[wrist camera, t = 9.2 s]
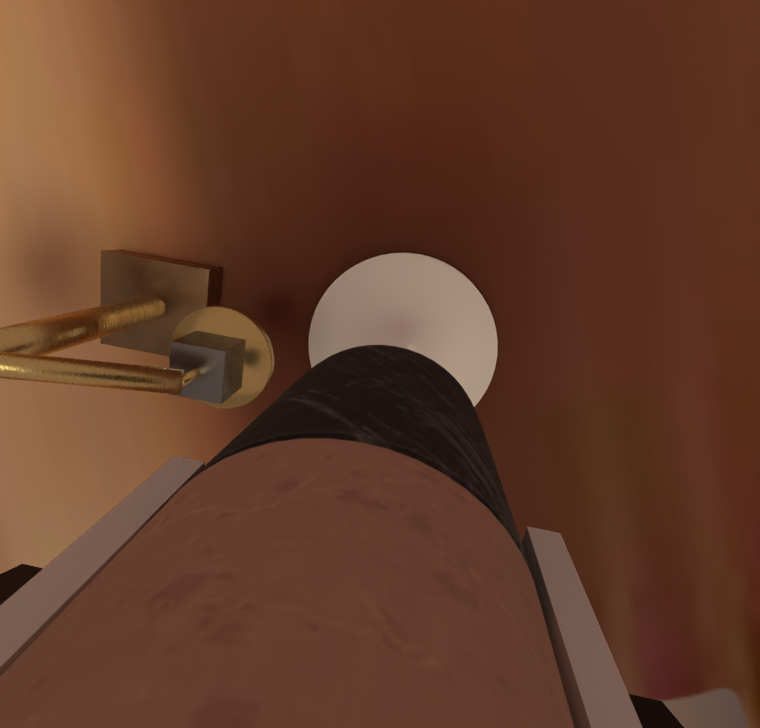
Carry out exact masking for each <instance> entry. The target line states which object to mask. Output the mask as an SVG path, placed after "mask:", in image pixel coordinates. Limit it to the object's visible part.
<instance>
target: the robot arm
mask: <svg viewBox="0 0 760 728" xmlns="http://www.w3.org/2000/svg"><path fill="white" fill-rule="evenodd" d="M204 466H205V462H203V461H198V460H193V459H188V458H183V457H178V456H173V457H172V458H171V459H170V460H169V461H168V462H166V463H165V464H164V465H163V466H162V467H161V468H159V469H158V470H157V471H156V472H155V473H154V474H153V475H151V476H150V477H149V478H148V479H147V480H146V481H144V482H143V483H142V484H141V485H140V486H139V487H137V488H136V489H135V490H134V491H133V492H132V493H130V494H129V495H128V496H127V497H126V498H125V499H123V500H122V501H121V502H120V503H119V504H118V505H117V506H115V507H114V508H113V509H112V510H111V511H110V512H108V513H107V514H106V515H105V516H104V517H103V518H101V519H100V520H99V521H98V522H97V523H96V524H94V525H93V526H92V527H91V528H90V529H89V530H87V531H86V532H85V533H84V534H83V535H82V536H80V537H79V538H78V539H77V540H76V541H75V542H74V543H72V544H71V545H70V546H69V547H68V548H67V549H65V550H64V551H63V552H62V553H61V554H60V555H58V556H57V557H56V558H55V559H54V560H53V561H51V562H50V563H49V564H48V565H47V566H46V567H44V568H38V567H34V566H29V565H24V564H21V565H19V566H17V567H15V568H13V569H11V570H9V571H6V572H4V573H2V574H0V676H1V675H2V674H3V673H4V672H5V671H6V670H7V669H8V668H9V667H10V666H11V665H12V664H13V663H14V662H15V661H16V660H17V659H18V657H19V656H20V655H21V654H22V653H23V652H24V651H25V650H26V649H27V648H28V647H29V646H30V645H31V644H32V643H33V642H34V641H35V640H36V639H37V638H38V637H39V636H40V635H41V634H42V633H43V631H44V630H45V629H46V628H47V627H48V626H49V625H50V624H51V623H52V622H53V621H54V620H55V619H56V618H57V617H58V616H59V615H60V614H61V613H62V612H63V611H64V610H65V609H66V608H67V607H68V605H69V604H70V603H71V602H72V601H73V600H74V599H75V598H76V597H77V596H78V595H79V594H80V593H81V592H82V591H83V590H84V589H85V588H86V587H87V586H88V585H89V584H90V583H91V582H92V581H93V579H94V578H95V577H96V576H97V575H98V574H99V573H100V572H101V571H102V570H103V569H104V568H105V567H106V566H107V565H108V564H109V563H110V562H111V561H112V560H113V559H114V558H115V557H116V556H117V555H118V553H119V552H120V551H121V550H122V549H123V548H124V547H125V546H126V545H127V544H128V543H129V542H130V541H131V540H132V539H133V538H134V537H135V536H136V535H137V534H138V533H139V532H140V531H141V530H142V529H143V527H144V526H145V525H146V524H147V523H148V522H149V521H150V520H151V519H152V518H153V517H154V516H155V515H156V514H157V513H158V512H159V511H160V510H161V509H162V508H163V507H164V506H165V505H166V504H167V503H168V501H169V500H170V499H171V498H172V497H173V496H174V495H175V494H176V493H177V492H178V491H179V490H180V489H181V488H182V487H184V486H185V485H186V484H187V483H188V482H189V481H190V480H191V478H193V477H194V476H195V475H196V474H197V473H198V472H199V471H200V470H201V469H202V468H203V467H204ZM522 547H523V549H524V552H525V555H526V558H527V561H528V564H529V568H530V571H531V575H532V577H533V580H534V584H535V587H536V591H537V594H538V598H539V601H540V605H541V608H542V612H543V615H544V619H545V623H546V626H547V630H548V634H549V637H550V641H551V645H552V648H553V652H554V655H555V659H556V663H557V666H558V670H559V674H560V677H561V681H562V684H563V688H564V692H565V695H566V699H567V703H568V706H569V710H570V714H571V717H572V721H573V724H574V728H684V727H683V726H682V725H681V724H680V723H679V721H678V720H677V719H676V718H675V717H674V716H673V714H672V713H671V712H670V711H669V709H668V708H667V707H666V706H665V705H664V704H663V702H662V701H658V700H653V699H649V698H644V697H640V696H635V695H631V694H628V692H627V690H626V687H625V685H624V683H623V680H622V678H621V676H620V673H619V671H618V668H617V666H616V664H615V661H614V659H613V657H612V654H611V652H610V650H609V647H608V645H607V642H606V640H605V638H604V635H603V633H602V631H601V628H600V626H599V624H598V621H597V619H596V617H595V614H594V612H593V609H592V607H591V605H590V602H589V600H588V598H587V595H586V593H585V591H584V588H583V586H582V583H581V581H580V579H579V576H578V574H577V572H576V569H575V567H574V565H573V562H572V560H571V558H570V555H569V553H568V550H567V548H566V546H565V543H564V541H563V539H562V536H561V534H560V533H557V532H552V531H547V530H542V529H537V528H532V527H527V528H526V532H525V535H524V539H523V542H522Z"/></svg>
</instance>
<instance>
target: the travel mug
mask: <svg viewBox="0 0 760 728" xmlns="http://www.w3.org/2000/svg"><path fill="white" fill-rule="evenodd" d="M0 728H574V724H573V721H572V717H571V714H570V710H569V706H568V703H567V699H566V695H565V692H564V688H563V684H562V681H561V677H560V674H559V670H558V666H557V663H556V659H555V655H554V652H553V648H552V645H551V641H550V637H549V634H548V630H547V626H546V623H545V619H544V615H543V612H542V608H541V605H540V601H539V598H538V594H537V591H536V587H535V584H534V580H533V577H532V575H531V571H530V568H529V564H528V561H527V558H526V555H525V552H524V549H523V547H522V544H521V541H520V538H519V535H518V532H517V529H516V526H515V523H514V520H513V517H512V514H511V511H510V508H509V505H508V502H507V499H506V496H505V493H504V491H503V488H502V485H501V482H500V479H499V476H498V473H497V470H496V467H495V464H494V461H493V458H492V455H491V452H490V449H489V446H488V443H487V440H486V437H485V435H484V432H483V429H482V426H481V423H480V421H479V418H478V415H477V413H476V411H475V408H474V406H473V404H472V402H471V400H470V398H469V397H468V395H467V393H466V392H465V390H464V389H463V387H462V386H461V385H460V384H459V382H458V381H457V380H456V379H455V378H454V377H453V376H452V375H451V374H450V373H449V372H448V371H447V370H446V369H445V368H443V367H442V366H440V365H439V364H438V363H436V362H435V361H433V360H432V359H430V358H428V357H426V356H424V355H422V354H420V353H417V352H414V351H412V350H409V349H405V348H401V347H396V346H389V345H365V346H359V347H353V348H350V349H346V350H343V351H340V352H338V353H336V354H334V355H331V356H329V357H328V358H326V359H324V360H323V361H321V362H320V363H318V364H317V365H315V366H314V367H313V368H312V369H310V370H309V371H308V372H307V373H306V374H304V375H303V376H302V377H301V378H300V379H299V380H298V381H296V382H295V383H294V384H293V385H292V386H291V387H290V388H289V389H288V390H287V391H285V392H284V393H283V394H282V395H281V396H280V397H279V398H278V399H277V400H276V401H275V402H274V403H273V404H271V405H270V406H269V407H268V408H267V409H266V410H265V411H264V412H263V413H262V414H261V415H260V416H258V417H257V418H256V419H255V420H254V421H253V422H252V423H251V424H250V425H249V426H248V427H247V428H245V429H244V430H243V431H242V432H241V433H240V434H239V435H238V436H237V437H236V438H235V439H234V440H233V441H231V442H230V443H229V444H228V445H227V446H226V447H225V448H224V449H223V450H222V451H221V452H220V453H218V454H217V455H216V456H215V457H214V458H213V459H212V460H211V461H210V462H209V463H208V464H207V465H206V466H204V467H203V468H202V469H201V470H200V471H199V472H198V473H197V474H196V475H195V476H194V477H193V478H191V480H190V481H189V482H188V483H187V484H186V485H185V486H184V487H182V488H181V489H180V490H179V491H178V492H177V493H176V494H175V495H174V496H173V497H172V498H171V499H170V500H169V501H168V503H167V504H166V505H165V506H164V507H163V508H162V509H161V510H160V511H159V512H158V513H157V514H156V515H155V516H154V517H153V518H152V519H151V520H150V521H149V522H148V523H147V524H146V525H145V526H144V527H143V529H142V530H141V531H140V532H139V533H138V534H137V535H136V536H135V537H134V538H133V539H132V540H131V541H130V542H129V543H128V544H127V545H126V546H125V547H124V548H123V549H122V550H121V551H120V552H119V553H118V555H117V556H116V557H115V558H114V559H113V560H112V561H111V562H110V563H109V564H108V565H107V566H106V567H105V568H104V569H103V570H102V571H101V572H100V573H99V574H98V575H97V576H96V577H95V578H94V579H93V581H92V582H91V583H90V584H89V585H88V586H87V587H86V588H85V589H84V590H83V591H82V592H81V593H80V594H79V595H78V596H77V597H76V598H75V599H74V600H73V601H72V602H71V603H70V604H69V605H68V607H67V608H66V609H65V610H64V611H63V612H62V613H61V614H60V615H59V616H58V617H57V618H56V619H55V620H54V621H53V622H52V623H51V624H50V625H49V626H48V627H47V628H46V629H45V630H44V631H43V633H42V634H41V635H40V636H39V637H38V638H37V639H36V640H35V641H34V642H33V643H32V644H31V645H30V646H29V647H28V648H27V649H26V650H25V651H24V652H23V653H22V654H21V655H20V656H19V657H18V659H17V660H16V661H15V662H14V663H13V664H12V665H11V666H10V667H9V668H8V669H7V670H6V671H5V672H4V673H3V674H2V675H1V676H0Z"/></svg>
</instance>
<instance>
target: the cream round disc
mask: <svg viewBox="0 0 760 728" xmlns="http://www.w3.org/2000/svg"><path fill="white" fill-rule="evenodd" d="M365 345H389V346H396V347H401V348H405V349H409V350H412V351H414V352H417V353H420V354H422V355H424V356H426V357H428V358H430V359H432V360H433V361H435V362H436V363H438V364H439V365H440V366H442V367H443V368H445V369H446V370H447V371H448V372H449V373H450V374H451V375H452V376H453V377H454V378H455V379H456V380H457V381H458V382H459V384H460V385H461V386H462V387H463V389H464V390H465V392H466V393H467V395H468V397H469V398H470V400H471V402H472V404H473V406H474V407H475V405H476V404H477V403H478V402H479V401H480V399H481V398H482V396H483V395H484V393H485V392H486V390H487V388H488V386H489V384H490V381H491V379H492V376H493V373H494V370H495V366H496V360H497V348H498V341H497V332H496V327H495V323H494V319H493V317H492V314H491V312H490V309H489V307H488V305H487V303H486V301H485V300H484V298H483V296H482V295H481V293H480V292H479V291H478V290H477V288H476V287H475V286H474V284H473V283H472V282H471V281H470V280H469V279H468V278H467V277H466V276H465V275H463V274H462V273H461V272H459V271H458V270H457V269H455V268H454V267H452V266H451V265H449V264H447V263H445V262H443V261H441V260H439V259H436V258H433V257H431V256H426V255H422V254H417V253H408V252H403V253H390V254H384V255H379V256H376V257H373V258H370V259H367V260H365V261H363V262H361V263H359V264H357V265H355V266H353V267H352V268H350V269H349V270H347V271H345V272H344V273H343V274H342V275H341V276H340V277H338V278H337V279H336V280H335V281H334V282H333V283H332V284H331V286H330V287H329V288H328V289H327V290H326V292H325V293H324V295H323V296H322V298H321V299H320V301H319V303H318V305H317V307H316V309H315V312H314V315H313V318H312V321H311V326H310V331H309V344H308V346H309V358H310V363H311V368H313V367H314V366H315V365H317V364H318V363H320V362H321V361H323V360H324V359H326V358H328V357H329V356H331V355H334V354H336V353H338V352H340V351H343V350H346V349H350V348H353V347H359V346H365Z"/></svg>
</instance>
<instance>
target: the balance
mask: <svg viewBox="0 0 760 728" xmlns="http://www.w3.org/2000/svg"><path fill="white" fill-rule="evenodd" d="M221 281H222V268H221V267H215V266H210V265H204V264H198V263H193V262H187V261H181V260H176V259H170V258H164V257H159V256H153V255H147V254H142V253H136V252H130V251H125V250H108V251H101V306H98V307H94V308H89V309H85V310H80V311H76V312H71V313H66V314H62V315H57V316H53V317H48V318H44V319H39V320H34V321H30V322H25V323H21V324H16V325H12V326H7V327H2V328H0V378H5V379H16V380H27V381H38V382H49V383H59V384H70V385H81V386H92V387H103V388H114V389H125V390H136V391H147V392H158V393H168V394H171V395H176V396H181V397H187V398H192V399H196V400H197V401H199V402H201V403H203V404H205V405H208V406H211V407H214V408H221V409H230V408H236V407H240V406H243V405H245V404H247V403H249V402H251V401H252V400H253V399H255V398H256V397H257V396H258V395H259V394H260V393H261V392H262V391H263V390H264V389H265V388H266V386H267V385H268V383H269V381H270V379H271V377H272V373H273V369H274V351H273V347H272V344H271V341H270V339H269V337H268V335H267V333H266V331H265V330H264V328H263V327H262V326H261V325H260V324H259V322H258V321H256V320H255V319H254V318H253V317H252V316H250V315H249V314H247V313H246V312H244V311H242V310H239V309H237V308H234V307H230V306H223V305H220V294H221ZM98 338H101V343H102V344H107V345H113V346H118V347H123V348H129V349H134V350H139V351H145V352H150V353H155V354H161V355H166V356H169V357H170V369H169V368H159V367H149V366H139V365H129V364H120V363H110V362H100V361H90V360H80V359H70V358H60V357H50V356H44V355H47V354H51V353H54V352H57V351H60V350H63V349H66V348H70V347H73V346H76V345H79V344H82V343H85V342H89V341H92V340H95V339H98Z"/></svg>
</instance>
